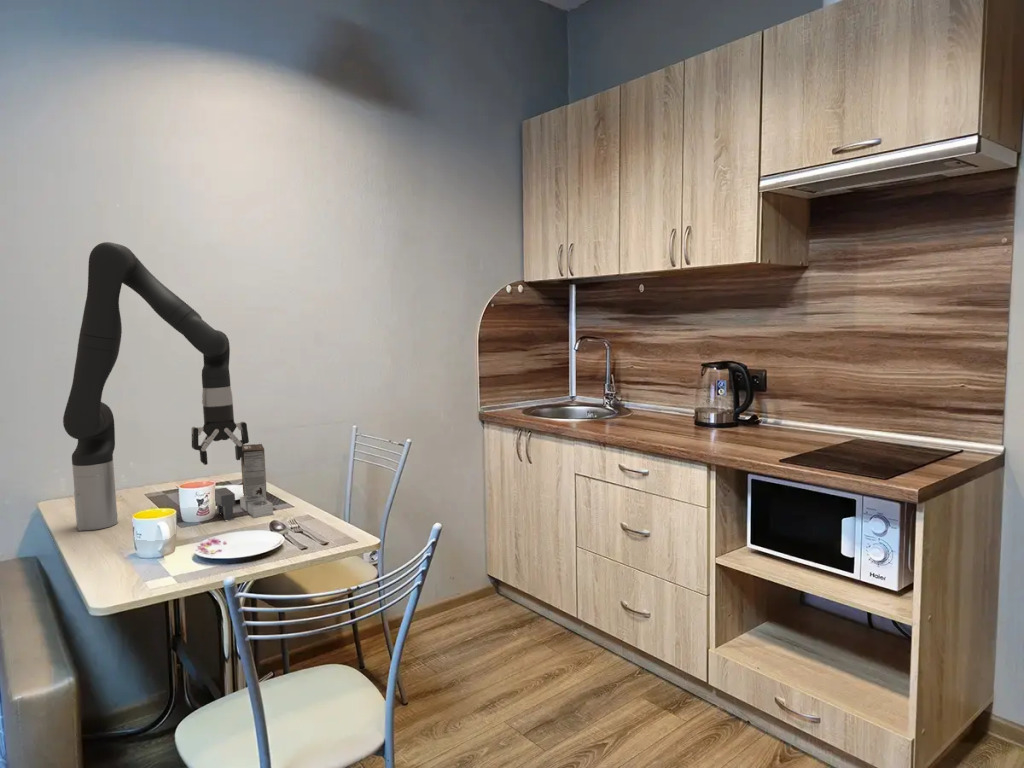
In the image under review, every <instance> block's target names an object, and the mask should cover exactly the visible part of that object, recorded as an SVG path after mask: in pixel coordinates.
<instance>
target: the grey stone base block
mask: <svg viewBox="0 0 1024 768" xmlns="http://www.w3.org/2000/svg"><path fill="white" fill-rule="evenodd" d="M239 497H240V498H239V499H240V500H239V503H240V508H241V509H242V510H243V511H245V512H247V513H248V515H250V516H251V517H252V518H260V517H264V516H271V515H273V514H274V509H273V508H274V507H273V506H274V505H273V503H272V502H271V501H269V500H268V499H267V500H264V498H263V497H262V496H260V495H259V494H257V495H252V494H248V496H245V497H244V496H239Z"/></svg>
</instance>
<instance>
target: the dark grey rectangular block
mask: <svg viewBox="0 0 1024 768" xmlns="http://www.w3.org/2000/svg"><path fill="white" fill-rule="evenodd" d="M214 489H215V501H214V502H216V513H217V512H218V513H219V514H220V513H223V514H222V515H223V520H224V519H225V520H228V521H232V520H231V519H233V520H234V507H233V506H235V505H236V494H235V493H234V492H232V491H231V490H230V489H229V488H228V487H221V488H220V487H219V488H214ZM225 520H224V521H225Z"/></svg>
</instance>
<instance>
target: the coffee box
mask: <svg viewBox="0 0 1024 768" xmlns="http://www.w3.org/2000/svg"><path fill="white" fill-rule="evenodd" d="M265 456H266V454H265V447H264V446H263V444H262V443H259V444H244V445H243V446H242V458H240V462H241V463H240V465H241V466H240V467H241V478H242V479H241V481H242V493H243V494H244V495H243V497H245V496H248V494H252V495H257V494H259V495H260V496H262V497H263V498H264V500H268V497H267V496H268V495H267V492H268V491H267V474H266V473H267V472H266V458H265Z"/></svg>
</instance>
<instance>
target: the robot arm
mask: <svg viewBox="0 0 1024 768" xmlns="http://www.w3.org/2000/svg"><path fill="white" fill-rule="evenodd" d="M88 257H89V258H88V268H87V271H88V272H87V291H86V292H87V293H86V300H85V304H84V309H83V314H82V318H81V319H82V321H81V324H80V325H81V326H80V329H79V337H78V343H77V351H76V358H75V364H74V370H73V371H74V372H73V377H72V384H71V388H70V392H69V396H68V399H67V402H66V406H65V408H64V414H63V417H62V418H63V419H62V424H63V428H64V430H65V432H66V434H67V435H68V436H70V437H71V438H73V439H75V440H77V445H76V448H75V449H74V450H73V453H72V454H71V464H72V476H73V479H72V480H73V489H74V491H73V496H74V498H73V499H74V510H75V520H76V522H75V523H76V527H77V528H76V529H77V531H78V532H80V531H81V532H82V531H94V530H102V529H106V528H109V527H113V526H115V525H117V524H118V522H119V520H118V507H117V506H118V505H117V494H116V492H117V491H116V481H115V470H114V469H115V468H114V455H113V454H114V452H115V451H114V450H115V447H116V435H115V434H116V431H115V418H114V414H113V413H114V412H113V411H112V410H111V408H110V406H109V405H108V404H106V403H104V402H103V401H102V396H103V391H104V387H105V385H106V382H107V380H108V378H109V376H110V374H111V373H112V371H113V370H114V369H113V368H114V367H115V364H116V362H117V359H118V358H119V353H120V348H121V341H122V333H123V330H122V317H121V313H120V312H121V311H120V294H121V289H122V285H125V286H127V287H128V288H130V289H131V290H132V291H134V292H135V293H136V294H138V295H139V296H140V297H141V298H142V299H143V300H144V301H145V302H146V303H147V304H148V306H150V307H151V309H153V311H154V312H155V313H156V314H157V315H158V316H159V317H160V318H161V319H163V321H164V322H166V323H167V324H168V325H169V326H170V327H172V328H173V329H174V330H175V331H177V332H178V333H179V334H181V335H182V336H183V337H184V338H185V339H186V340H187V341H188V342H189V343H190V345H192V347H194V348H195V349H196V350H197V351H198V352H200V353H201V354H203V357H202V358H203V367H202V369H201V385H202V393H201V394H202V395H201V397H202V398H201V400H202V401H201V402H202V403H201V404H202V413H203V426H200V427H195V426H192V427H191V448H192V449H193V450H195V451H198V452H199V458H200V459H199V460H200V463H202V464H203V465H205V466H206V465H208V464H209V463H208V453H207V449H208V447H209V446H210V445H211V444H212V443H213V441H214V442H219V441H227V440H229V439H230V441H232V443H234V444H235V446H234V451H235V460H236V461H241V458H242V446H243V445H248V444H249V442H250V441H249V440H250V439H249V432H248V427H247V426H248V425H247V423H246V422H245V421H240V422H236V423H235V418H234V417H235V416H234V401H233V393H232V387H231V385H232V384H231V375H230V354H231V352H230V351H231V349H230V347H231V346H230V340H229V338H228V336H227V335H226V334H225V332H223V331H221V330H219V329H218V330H217V329H214V328H213V327H212V326H211V325H210V324H208V323H207V322H206V321H205V320H203V319H202V316H201V315H200V314H199V313H198V312H197V311H196V310H195V309H194V308H192V307H191V306H190V305H189V304H188V303H186V302H185V301H184V300H182V298H181V297H179V296H178V295H177V294H176V293H174V292H173V291H172V290H170V289H169V288H168V287H167V286H165V285H164V284H163V283H162V282H161V281H160V280H159V279H158V278H157V277H156V276H154V274H152V273H151V272H150V270H149V269H147V267H146V266H145V265H144V264H143V263H142V262H141V260H139V258H138V257H137V256H136V255H135V253H134V252H132V250H131V249H130V248H128V247H127V246H125V245H123V244H119V243H114V242H111V241H110V242H108V241H107V242H105V241H104V242H101V243H99V244H97V245H96V246H94V247H93V248H92V250H91V251H90V253H89V256H88ZM236 429H238V431H240V435H241V439H239V438H238V437H237V436H236V435H235V434H234V432H235V431H236ZM202 432H203V433H204V434H205V437H204V439H203V440H202V442H201V443H200V445H199V436H200V435H201V434H202Z"/></svg>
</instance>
